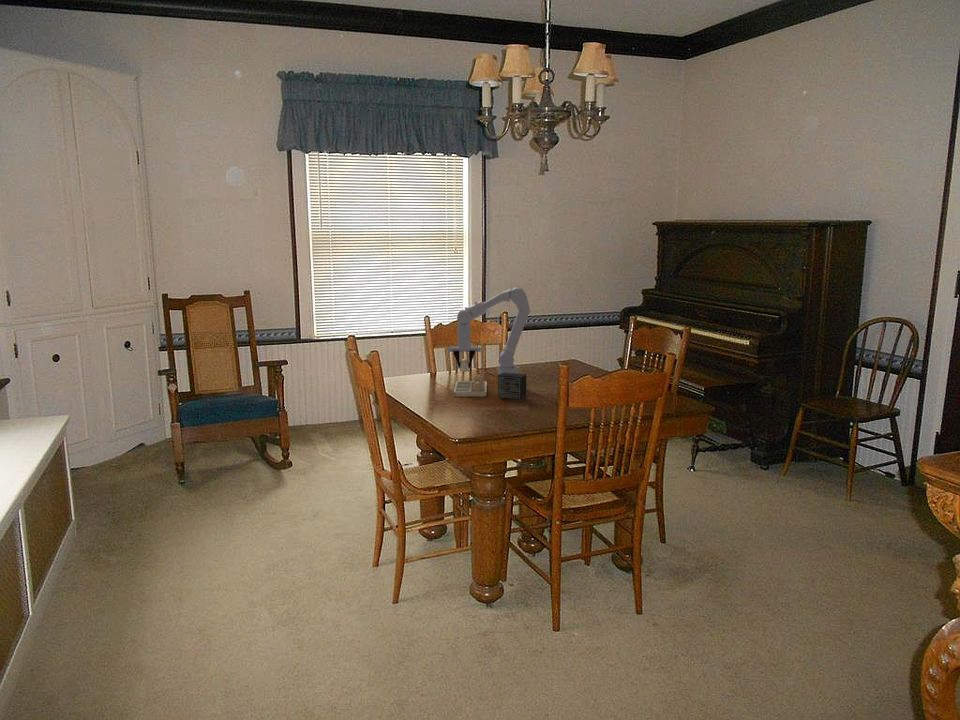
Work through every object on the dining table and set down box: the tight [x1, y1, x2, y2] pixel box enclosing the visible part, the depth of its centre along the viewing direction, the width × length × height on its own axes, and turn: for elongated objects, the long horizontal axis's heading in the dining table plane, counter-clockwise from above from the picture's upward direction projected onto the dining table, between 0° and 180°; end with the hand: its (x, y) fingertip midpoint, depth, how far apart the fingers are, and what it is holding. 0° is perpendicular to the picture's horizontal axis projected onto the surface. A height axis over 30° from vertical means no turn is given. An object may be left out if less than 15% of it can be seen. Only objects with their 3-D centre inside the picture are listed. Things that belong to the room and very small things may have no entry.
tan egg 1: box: [473, 374, 484, 385], centre depth 312 cm, size 4×4×5 cm
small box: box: [497, 372, 527, 400], centre depth 295 cm, size 11×6×10 cm, turn 65°
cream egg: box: [459, 358, 470, 373], centre depth 317 cm, size 4×4×5 cm
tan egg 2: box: [473, 382, 483, 392], centre depth 300 cm, size 4×4×5 cm
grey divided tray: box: [453, 380, 488, 397], centre depth 306 cm, size 14×20×3 cm
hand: (464, 367), depth 317 cm, fingers closed on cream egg, 4 cm apart
